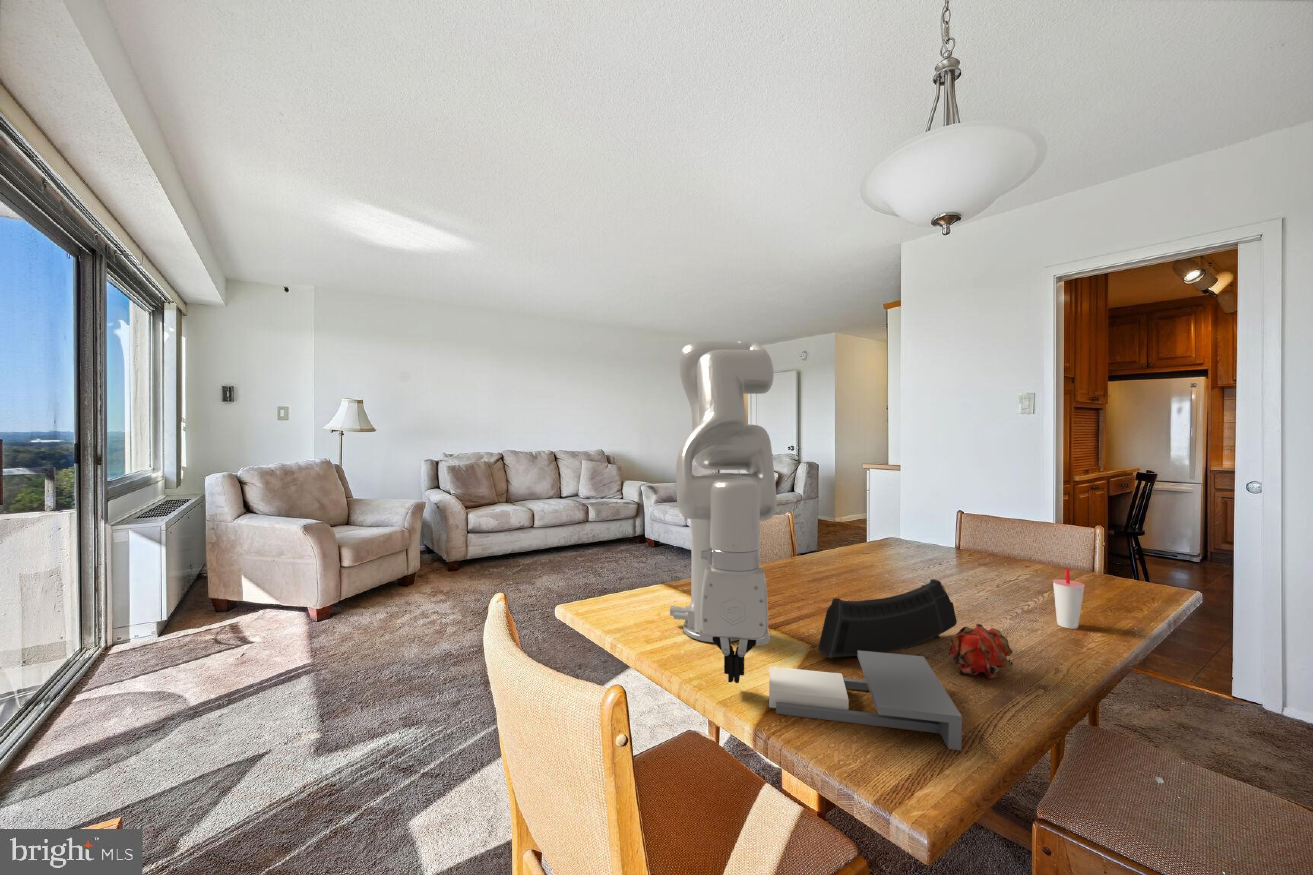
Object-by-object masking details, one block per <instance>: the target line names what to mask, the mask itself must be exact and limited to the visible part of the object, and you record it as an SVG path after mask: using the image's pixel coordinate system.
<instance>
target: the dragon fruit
mask: <svg viewBox="0 0 1313 875" xmlns="http://www.w3.org/2000/svg"><path fill="white" fill-rule="evenodd" d="M975 625H976V626H975V628H971V627H968V626H963V627H962V628H960V629H959V631H957V633H955V635H954V636H952V638H951V639H950V646H949V648H948V655H950V658H951V660H952V661H953V663H954V664H955V665H958V666H960V668H959V670H958V673H959V674H960V675H961V674H962V675H963V674H965V675H968V676H976V675H977V674H980V673H984V675H985V676H986V678H988V679H989V680H990V679H991V680H992V679H993V678H995V677H998V676H999V671H1001V669H1000V668H1003V669H1006V670H1007V669H1011V668H1012V667H1013V666H1014V663H1013V661H1011V659H1008V658H1007V657H1011V656H1012V654H1013V653H1014V651H1013V649H1012V648H1011V646H1010V644H1009V640H1008V638H1007V637H1005V636H1004V635H1003V634H1002V633H1001V631H1000V630H999V629H996V628H993V627H991V628H990V629H986V628H984V626H983V624H980V623H976V624H975Z"/></svg>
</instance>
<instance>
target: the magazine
mask: <svg viewBox="0 0 1313 875" xmlns="http://www.w3.org/2000/svg"><path fill="white" fill-rule="evenodd" d="M957 622H958V620H957V615H956V611H955V606H954V602H952V601H951V599H950V597H949V595H948V593H947V590H946V587H944V584H942V582H941V581H940V580H937V579H934V578H933V579H930V581H929V583H927V584H922V585H921V586H920V587H917V588H915V589H912V590H909V591H906V592H904V593H901V594H896V595H893V596H888V597H883V598H875V599H874V598H873V599H867V600H866V599H865V600H844V599H843V600H842V599H840V598H838V597H835V598H832V600H831V604H830V605H829V607H828V608H827V610H826V613H825V617H824V622H823V626H822V630H821V635H820V638H819V643H818V647H817V651H818V652H819V653H820V654H821V655H823V656H824V657H826V658H827V657H828V658H830V659H832V658H837V657H839V658H840V657H858V650H859V651H870V652H880V653H892V652H896V651H901V650H904V649H908V648H912V647H913V646H917V645H919V644H921V643H924V642H927V641H928V640H931V639H933V638H935V639H938V640H939V639H940V638H941V637H940V635H941V634H943V633H945V632H947V631H949V630H950V629H952V628H953V627H955V626H956V624H958V623H957Z"/></svg>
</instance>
